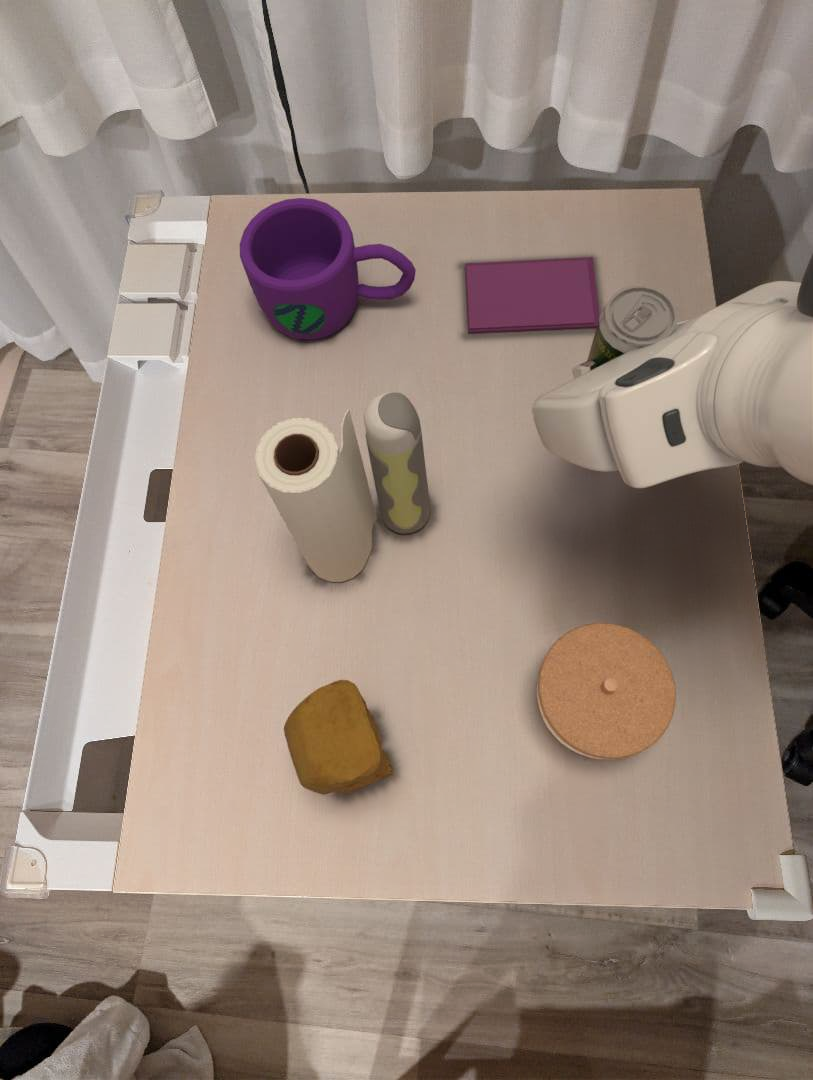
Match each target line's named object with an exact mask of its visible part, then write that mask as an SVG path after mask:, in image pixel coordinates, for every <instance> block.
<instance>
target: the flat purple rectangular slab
mask: <svg viewBox="0 0 813 1080" xmlns="http://www.w3.org/2000/svg"><path fill="white" fill-rule="evenodd" d="M464 273H465V274H464V275H465V290H466V291H465V293H466V311H467V314H466V315H467V332H468V334H488V333H489V334H491V333H507V332H508V333H510V332H513V333H514V332H531V331H532V332H533V331H555V330H575V329H577V330H578V329H596V328H597V325H598V321H599V318H600V314H601V312H600V304H599V298H598V290H597V281H596V273H595V265H594V257H593V256H586V257H568V258H567V257H566V258H565V257H564V258H547V259H530V260H529V259H528V260H527V259H526V260H507V261H506V260H505V261H489V262H469V263H468V262H467V263H466V262H465V263H464Z"/></svg>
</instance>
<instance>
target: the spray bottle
mask: <svg viewBox="0 0 813 1080" xmlns="http://www.w3.org/2000/svg"><path fill="white" fill-rule="evenodd" d="M363 412H364V413H363V424H364V430H365V434H364V436H365V442H366V446H367V453H368V457H369V463H370V467H371V472H372V477H373V482H374V483H373V484H374V487H375V492H376V497H377V502H378V507H379V512H380V513H379V514H380V517H381V520H382V522H383V524H384V525H385V526H386V527H387V528H388V529H389V530H391V531H393V532H395V533H397V534H402V535H403V534H404V535H405V534H412V533H415V532H418V531H419V530H421V529H422V528H423V527H424V526H425V525H426V524H427V522H428V521H429V519H430V516H431V502H430V501H431V500H430V495H429V494H430V493H429V492H430V491H429V485H428V476H427V475H428V474H427V468H426V460H425V451H424V450H425V449H424V443H423V442H424V441H423V433H422V426H421V421H420V417H419V414H418V412H417V410H416V407H415V406H414V405H413V403H412V402H411V400H410V399H409V398H408V397H407V396H406V395H405V394H403V393H401V392H396V391H385V392H382V393H380V394H377V395H376V396H375V397H373V398H371V400H370V401H369V402H368V404H367V405H366V407H365V409H364V411H363Z"/></svg>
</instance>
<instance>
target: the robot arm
mask: <svg viewBox="0 0 813 1080" xmlns="http://www.w3.org/2000/svg"><path fill="white" fill-rule="evenodd" d="M677 325H678V327H677V328H675V330H674V331H673V333H672V334H671V335H670V336H668V337H667V338H665V339H663V340H661V341H659V342H657V343H654V344H652V345H649V346H645V347H640V348H637V349H634V350H632V351H629V352H626V353H624V354H622V355H620V356H618V357H617V358H615V359H613V360H611V361H609V362H607V363H605V364H603V365H601V366H600V365H599V363H598V362H596V361H592V360H588V359H587V360H588V361H587V360H586V361H584V362H582V363H579V364H578V365H575V366H574V367H571V373H572V376H573V379H571V380H569V381H567V382H565V383H563V384H561V385H559V386H557V387H555V388H553V389H551V390H549V391H547V392H545V393H543V394H541V395H539V396H538V397H537V398H535V400H534V401H533V403H532V406H531V414H532V418H533V422H534V425H535V428H536V431H537V434H538V436H539V438H540V441H541V443H542V445H543V447H544V448H545V450H546V451H548V452H549V453H550V454H552V455H553V456H556V457H558V458H560V459H561V460H564V461H566V462H568V463H571V464H573V465H575V466H578V467H581V468H584V469H587V470H591V471H596V472H603V473H604V472H605V473H606V472H616V471H619V473H620V476H621V478H622V480H623V483H625V484H626V485H627V486H629V487H632V488H635V489H645V488H650V487H652V486H655V485H659V484H662V483H664V482H668V481H671V480H674V479H677V478H680V477H683V476H688V475H691V474H695V473H699V472H702V471H707V470H713V469H720V468H727V467H733V466H736V465H740V464H743V462H744V463H747V464H750V465H753V466H758V467H763V468H782V469H783V470H784V471H786V473H788V474H790V475H791V476H792V477H794V478H795V479H797V480H799V481H800V482H802V483H806V484H808V485H810V486H813V253H812V254H811V257H810V260H809V261H808V264H807V266H806V269H805V271H804V274H803V276H802V279H801V282H799V281H792V280H791V281H789V280H776V281H770V282H767V283H763V284H760V285H757V286H755V287H753V288H751V289H749V290H747V291H745V292H743V293H741V294H740V295H737V296H736V297H734V298H732V299H729V300H728V301H725V302H724V303H722V304H720V305H718V306H715V307H713V308H711V309H710V310H707V311H706V312H703V313H701V314H700V315H697V316H695V317H694V318H689V319H685V320H680V321H677ZM660 338H661V337H660ZM658 339H659V338H658Z"/></svg>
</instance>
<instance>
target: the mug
mask: <svg viewBox="0 0 813 1080" xmlns="http://www.w3.org/2000/svg"><path fill="white" fill-rule="evenodd" d="M376 259H382V260H385V261H387V262H389V263H391V264H392V265H393V266H395V267H396V268H397V269H398V270H399V271H401V273H402V274H401V276H400V278H399V280H398V281H397V282H396V283H395V284H392V285H387V286H374V285H368V284H365V283H360V281H359V269H358V262H364V261H368V260H376ZM239 260H240V261H241V264H242V267H243V269H244V272H245V274H246V277H247V280H248V282H249V285H250V288H251V291H252V293H253V294H254V297H255V299H256V301H257V303H258V305H259V307H260V309H261V311H262V312H263V313H264V315H265V317H266V318H267V320H268V321H269V322H270V324H271V325H272V326H273V327H274V328H275V329H277V330H278V331H279V332H281V333H283V334H284V335H286V336H288V337H291V338H294V339H298V340H308V341H309V340H317V339H318V340H319V339H322V338H325V337H328V336H331V335H333V334H334V333H336V332H338V331H339V330H341V329H342V328H343V327H344V326H345V325H346V324H347V323H348V322H349V320H350V319H351V318H352V315H353V314H354V312H355V310H356V308H357V305H358V299H359V297H360V298H363V299H366V300H374V301H383V300H393V299H396V298H399V297H402V296H404V295H405V294H406V293H407V292H408V291H409V290H410V289H411V287H412V286H413V284H414V281H415V279H416V272H417V270H416V267H415V265H414V264H413V262H412V261H411V260H410V259H409V258H408V256H406V255H405V254H404V253H402V252H401V251H400V250H397V249H396V248H394V247H393V246H390V245H386V244H383V243H374V244H373V243H372V244H365V245H361V246H356V245H355V240H354V234H353V231H352V229H351V226H350V224H349V221H348V220H347V218H346V217H345V216H344V215H343V214H342V213H341V211H340V210H338V209H337V208H335V207H334V206H332V205H330V204H329V203H327V202H324V201H322V200H318V199H316V198H304V197H296V198H288V199H283V200H280V201H277V202H273V203H271V204H270V205H268V206H266V207H264V208H262V209H260V211H259V212H258V213H257V214H255V215H254V216H253V217H252V218H251V219H250V220H249V222H248V224H246V226H245V228H244V229H243V231H242V235H241V238H240V242H239Z"/></svg>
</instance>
